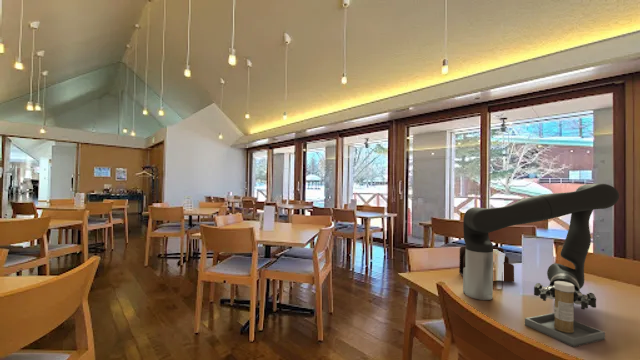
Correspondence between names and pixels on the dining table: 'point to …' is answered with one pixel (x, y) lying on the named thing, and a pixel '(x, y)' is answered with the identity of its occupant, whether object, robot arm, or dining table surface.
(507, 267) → the letter holder
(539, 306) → the dining table surface
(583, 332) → the condiment tray
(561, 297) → the sprinkles bottle
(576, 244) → the robot arm
